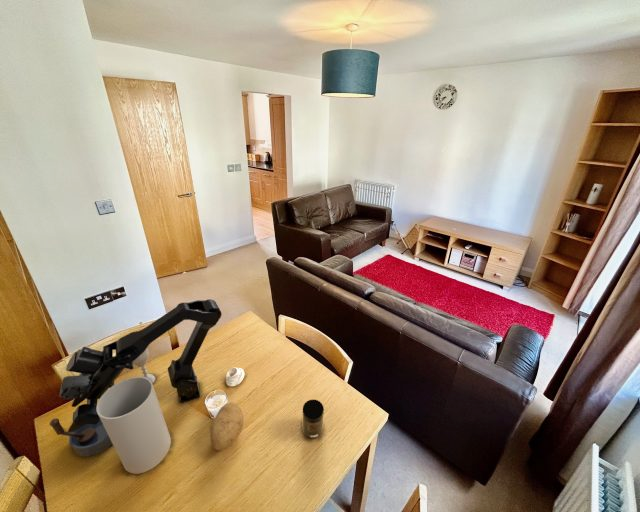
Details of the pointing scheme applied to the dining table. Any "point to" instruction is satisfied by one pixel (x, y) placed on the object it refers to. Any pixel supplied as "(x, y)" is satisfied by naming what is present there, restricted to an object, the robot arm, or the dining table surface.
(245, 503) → the dining table surface
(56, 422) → the ladle
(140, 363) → the chalice
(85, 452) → the bowl
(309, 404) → the supplement container
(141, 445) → the cylinder vase
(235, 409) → the potato
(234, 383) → the whipped cream
